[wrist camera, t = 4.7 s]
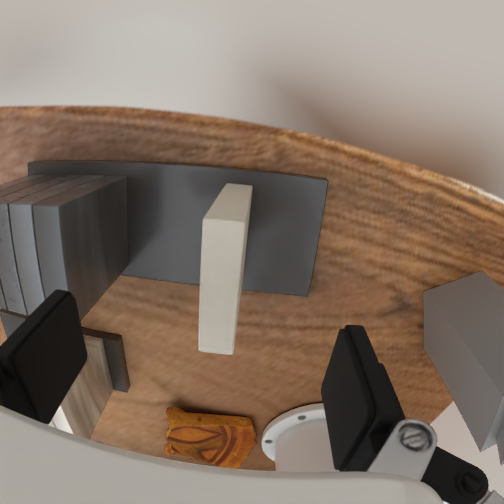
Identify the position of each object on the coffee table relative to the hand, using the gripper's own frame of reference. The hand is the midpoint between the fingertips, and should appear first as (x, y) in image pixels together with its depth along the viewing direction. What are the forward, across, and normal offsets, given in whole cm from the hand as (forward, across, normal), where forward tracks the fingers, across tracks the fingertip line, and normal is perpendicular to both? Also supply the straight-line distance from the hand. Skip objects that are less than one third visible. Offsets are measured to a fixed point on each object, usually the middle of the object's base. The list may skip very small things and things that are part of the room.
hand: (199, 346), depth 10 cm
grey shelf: (+14, +6, 0) cm, 15 cm away
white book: (+13, 0, 0) cm, 13 cm away
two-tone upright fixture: (+14, +18, +16) cm, 28 cm away
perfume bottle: (+14, -21, +6) cm, 26 cm away
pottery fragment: (+14, +1, +25) cm, 29 cm away
